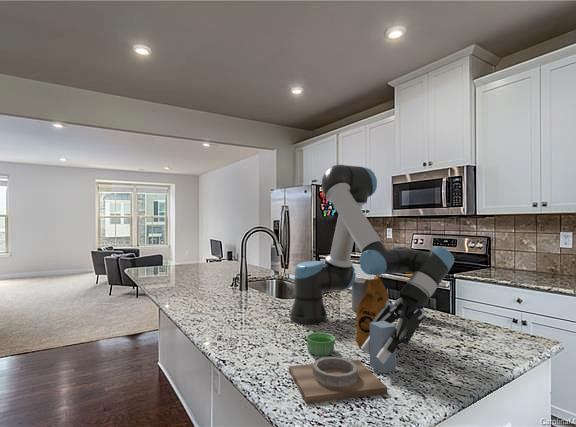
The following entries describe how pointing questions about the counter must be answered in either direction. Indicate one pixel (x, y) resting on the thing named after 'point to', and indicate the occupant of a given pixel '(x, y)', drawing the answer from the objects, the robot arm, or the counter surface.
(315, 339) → the ramekin
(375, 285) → the coffee package
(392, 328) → the slate peg
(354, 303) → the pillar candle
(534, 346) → the counter surface
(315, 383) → the collar plate
